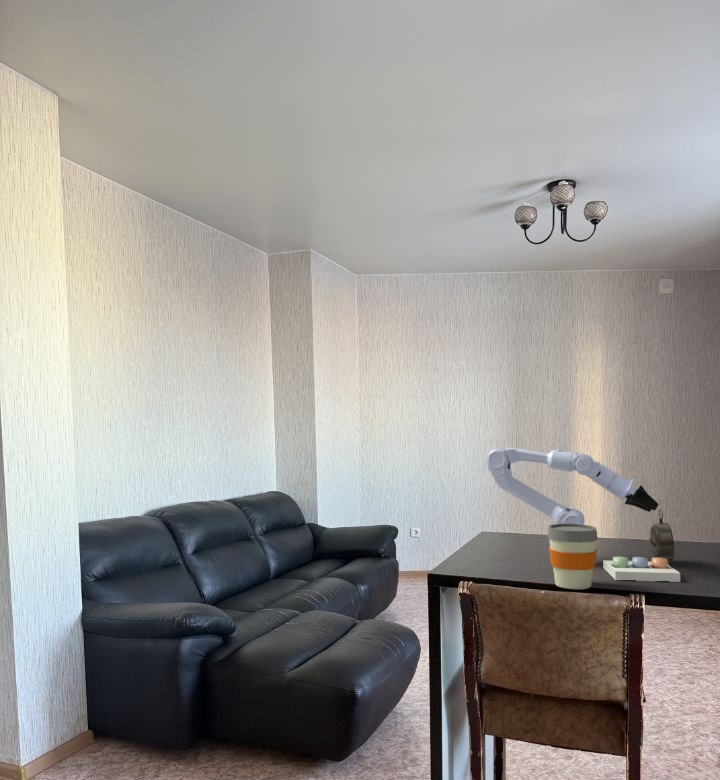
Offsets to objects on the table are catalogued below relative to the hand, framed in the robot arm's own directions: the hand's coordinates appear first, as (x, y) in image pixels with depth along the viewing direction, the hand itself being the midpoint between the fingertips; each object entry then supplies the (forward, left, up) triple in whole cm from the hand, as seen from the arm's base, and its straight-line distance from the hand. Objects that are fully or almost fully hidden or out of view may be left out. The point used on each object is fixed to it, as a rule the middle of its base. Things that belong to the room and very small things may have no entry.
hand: (654, 508), depth 197 cm
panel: (-6, -8, -17) cm, 20 cm away
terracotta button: (-1, -8, -16) cm, 18 cm away
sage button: (-12, -8, -16) cm, 21 cm away
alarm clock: (+4, +8, -18) cm, 20 cm away
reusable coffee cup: (-27, -21, -18) cm, 38 cm away
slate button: (-6, -8, -16) cm, 19 cm away
